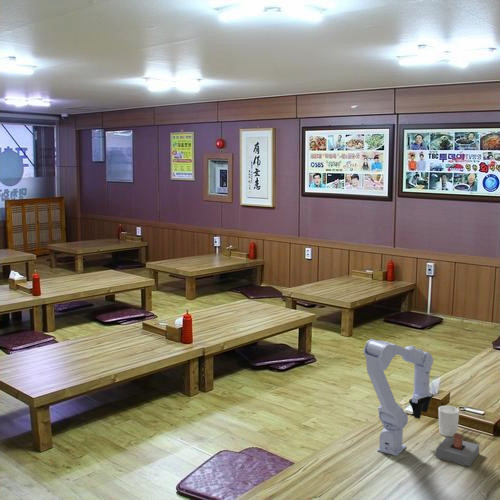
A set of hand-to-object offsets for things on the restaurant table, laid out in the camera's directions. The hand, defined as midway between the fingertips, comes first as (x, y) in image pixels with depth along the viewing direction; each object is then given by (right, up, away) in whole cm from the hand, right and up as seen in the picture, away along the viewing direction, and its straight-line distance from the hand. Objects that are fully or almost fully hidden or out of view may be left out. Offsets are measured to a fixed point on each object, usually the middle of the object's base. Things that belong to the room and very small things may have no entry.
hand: (420, 414), depth 237 cm
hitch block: (+10, -11, -14) cm, 20 cm away
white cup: (+12, -9, +5) cm, 16 cm away
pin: (+10, -11, -14) cm, 20 cm away
